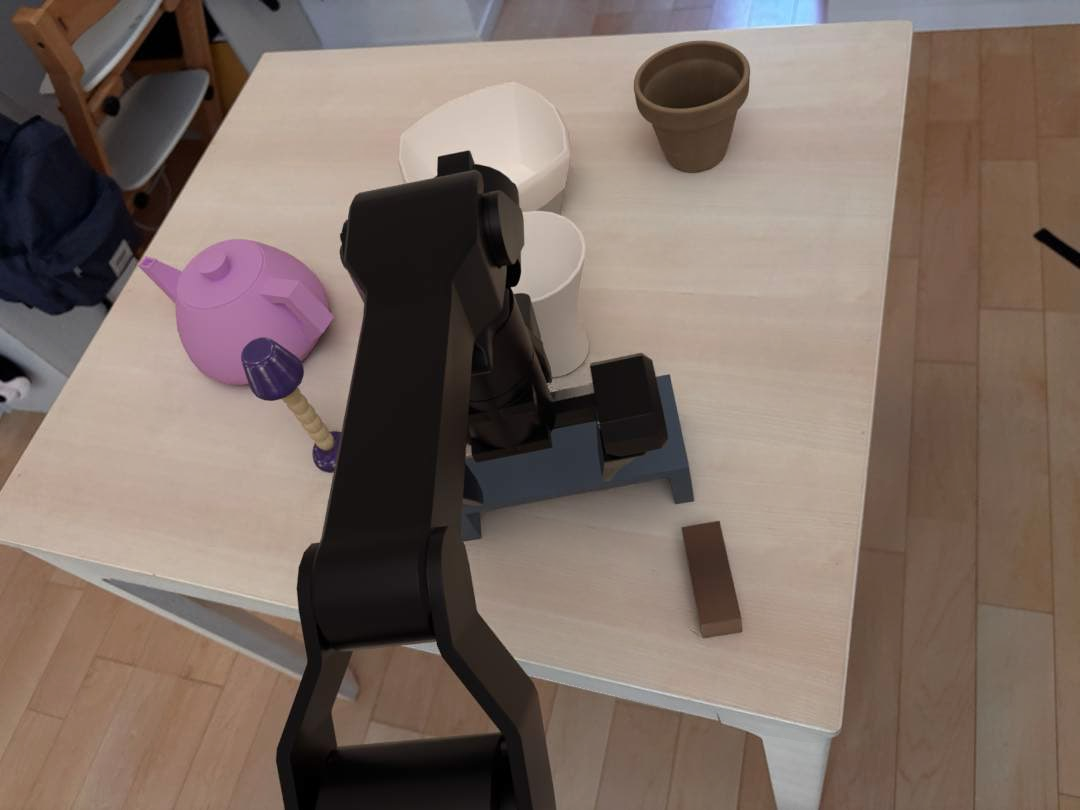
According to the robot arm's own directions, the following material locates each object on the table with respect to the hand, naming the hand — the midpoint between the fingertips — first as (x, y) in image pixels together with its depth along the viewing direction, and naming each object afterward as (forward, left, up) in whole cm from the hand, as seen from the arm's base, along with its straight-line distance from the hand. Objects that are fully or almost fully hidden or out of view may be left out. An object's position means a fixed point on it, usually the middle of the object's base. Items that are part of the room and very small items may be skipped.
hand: (542, 487), depth 62 cm
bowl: (+42, +3, -12) cm, 44 cm away
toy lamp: (+14, +21, -12) cm, 29 cm away
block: (-5, -11, -12) cm, 17 cm away
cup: (+21, -1, -12) cm, 25 cm away
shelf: (+7, -1, -12) cm, 14 cm away
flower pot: (+44, -19, -12) cm, 50 cm away
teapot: (+31, +30, -12) cm, 45 cm away
